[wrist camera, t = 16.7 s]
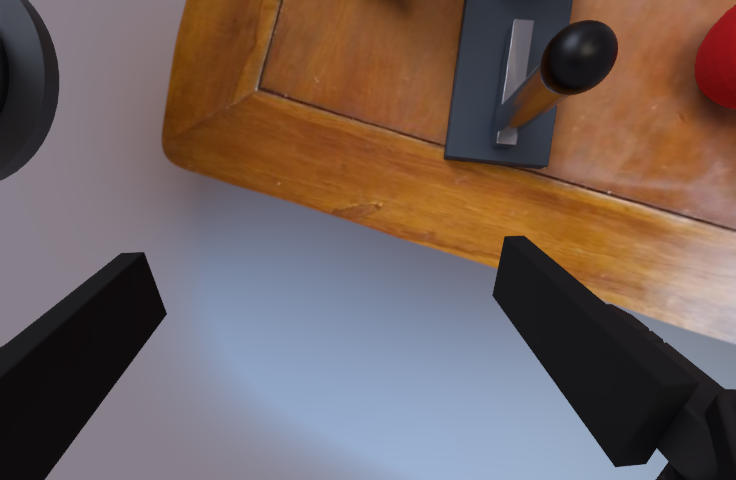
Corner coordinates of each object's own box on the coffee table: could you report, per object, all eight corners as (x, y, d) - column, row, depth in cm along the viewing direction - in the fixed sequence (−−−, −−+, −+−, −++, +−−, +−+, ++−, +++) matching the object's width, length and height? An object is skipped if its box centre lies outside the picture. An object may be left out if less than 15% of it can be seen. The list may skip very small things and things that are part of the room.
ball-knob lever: (496, 29, 27) (586, -141, 15) (536, 32, 27) (665, -139, 14) (480, 146, 28) (553, 81, 15) (519, 150, 28) (628, 87, 15)
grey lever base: (469, -38, 29) (484, -92, 24) (570, -32, 29) (607, -86, 24) (443, 159, 30) (453, 146, 25) (540, 169, 30) (570, 158, 25)
